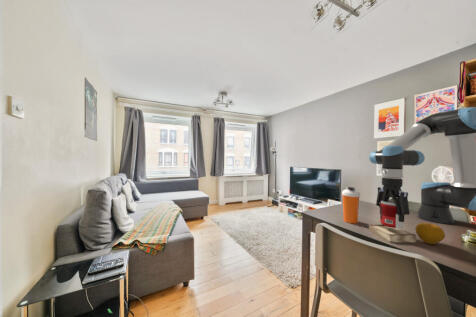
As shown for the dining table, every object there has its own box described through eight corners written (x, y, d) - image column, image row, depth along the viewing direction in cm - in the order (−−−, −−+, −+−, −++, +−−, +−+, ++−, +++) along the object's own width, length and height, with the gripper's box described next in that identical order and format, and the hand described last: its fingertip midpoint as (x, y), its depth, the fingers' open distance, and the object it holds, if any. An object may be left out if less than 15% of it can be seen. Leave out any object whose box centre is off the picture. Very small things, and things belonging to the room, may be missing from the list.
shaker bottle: (343, 222, 100) (343, 188, 100) (340, 217, 109) (340, 186, 108) (361, 225, 97) (362, 189, 97) (357, 219, 105) (357, 187, 105)
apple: (439, 250, 71) (439, 228, 71) (410, 240, 80) (411, 221, 79) (448, 246, 75) (449, 225, 75) (420, 237, 83) (420, 218, 83)
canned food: (406, 229, 79) (406, 205, 79) (386, 227, 81) (386, 204, 81) (394, 222, 87) (395, 201, 87) (376, 221, 88) (377, 200, 88)
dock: (391, 230, 90) (391, 224, 90) (415, 242, 78) (416, 234, 78) (369, 230, 90) (369, 224, 90) (390, 242, 78) (390, 235, 78)
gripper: (367, 175, 94) (367, 217, 94) (405, 180, 73) (404, 234, 74) (381, 175, 94) (380, 217, 94) (422, 180, 73) (421, 234, 74)
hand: (391, 224), depth 84 cm, fingers closed on canned food, 8 cm apart
